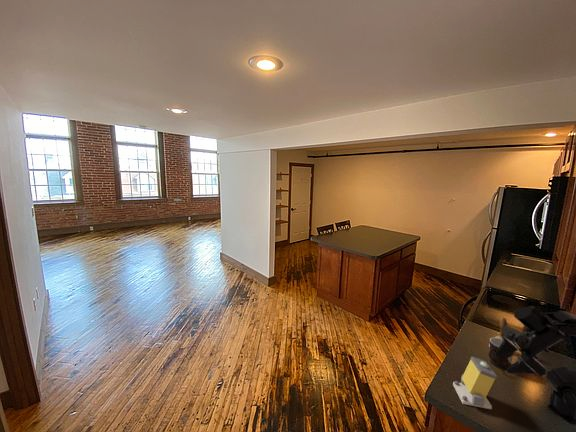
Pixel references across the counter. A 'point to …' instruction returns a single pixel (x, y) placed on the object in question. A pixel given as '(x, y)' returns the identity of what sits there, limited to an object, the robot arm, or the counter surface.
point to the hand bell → (501, 328)
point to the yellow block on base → (478, 377)
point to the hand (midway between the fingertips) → (501, 362)
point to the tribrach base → (470, 396)
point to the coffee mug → (502, 360)
